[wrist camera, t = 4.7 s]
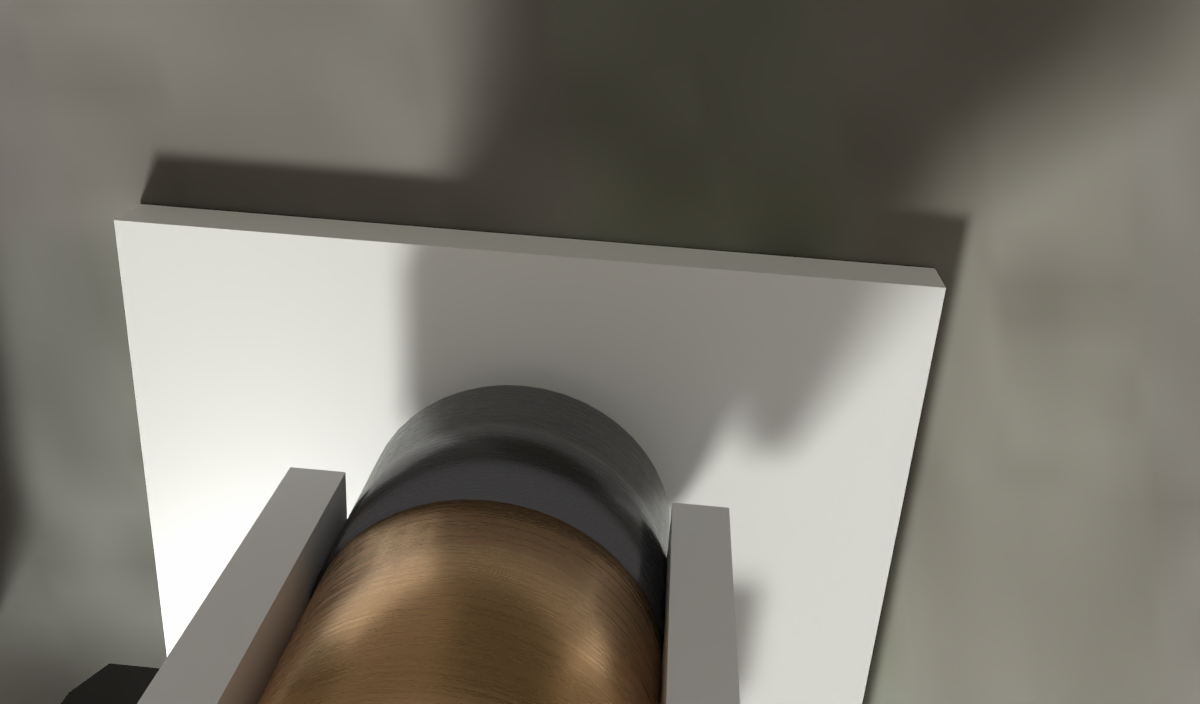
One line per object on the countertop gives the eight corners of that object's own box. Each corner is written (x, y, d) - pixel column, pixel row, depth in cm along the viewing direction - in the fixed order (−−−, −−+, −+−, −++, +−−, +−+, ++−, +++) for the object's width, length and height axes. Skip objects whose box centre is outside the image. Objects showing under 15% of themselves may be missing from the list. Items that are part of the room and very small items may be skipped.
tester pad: (934, 268, 17) (986, 359, 14) (835, 777, 21) (859, 928, 18) (137, 204, 17) (27, 279, 14) (194, 715, 21) (117, 852, 19)
